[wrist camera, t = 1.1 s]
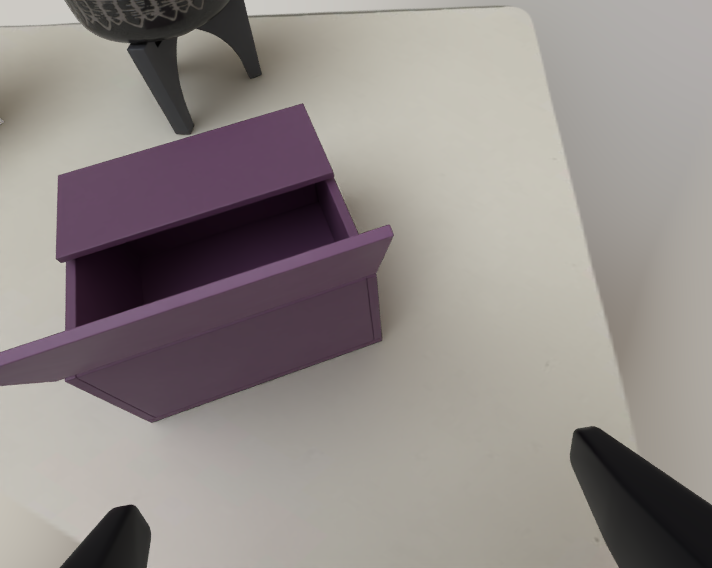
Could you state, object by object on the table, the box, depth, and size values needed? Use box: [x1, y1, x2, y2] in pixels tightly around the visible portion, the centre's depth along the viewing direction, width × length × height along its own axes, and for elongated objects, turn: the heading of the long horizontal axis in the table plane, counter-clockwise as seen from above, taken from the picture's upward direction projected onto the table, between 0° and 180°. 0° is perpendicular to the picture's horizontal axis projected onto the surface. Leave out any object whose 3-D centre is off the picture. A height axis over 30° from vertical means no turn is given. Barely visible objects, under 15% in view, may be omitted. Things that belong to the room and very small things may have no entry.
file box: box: [56, 104, 382, 423], centre depth 25 cm, size 12×14×8 cm
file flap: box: [0, 225, 394, 386], centre depth 16 cm, size 6×14×1 cm
